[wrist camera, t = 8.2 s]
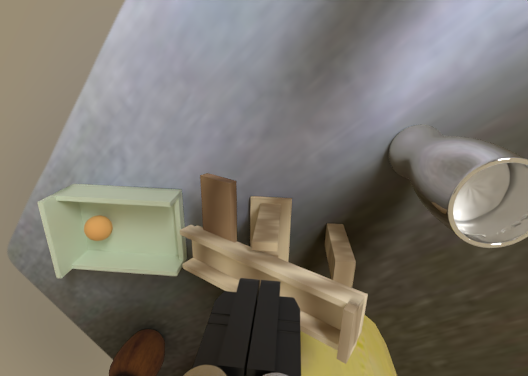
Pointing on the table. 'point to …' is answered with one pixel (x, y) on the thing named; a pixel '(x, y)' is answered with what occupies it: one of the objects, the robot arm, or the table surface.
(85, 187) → the tray
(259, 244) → the fulcrum
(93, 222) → the ball
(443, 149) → the beer glass
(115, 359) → the wooden figurine
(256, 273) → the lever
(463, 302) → the table surface
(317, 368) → the cheese
